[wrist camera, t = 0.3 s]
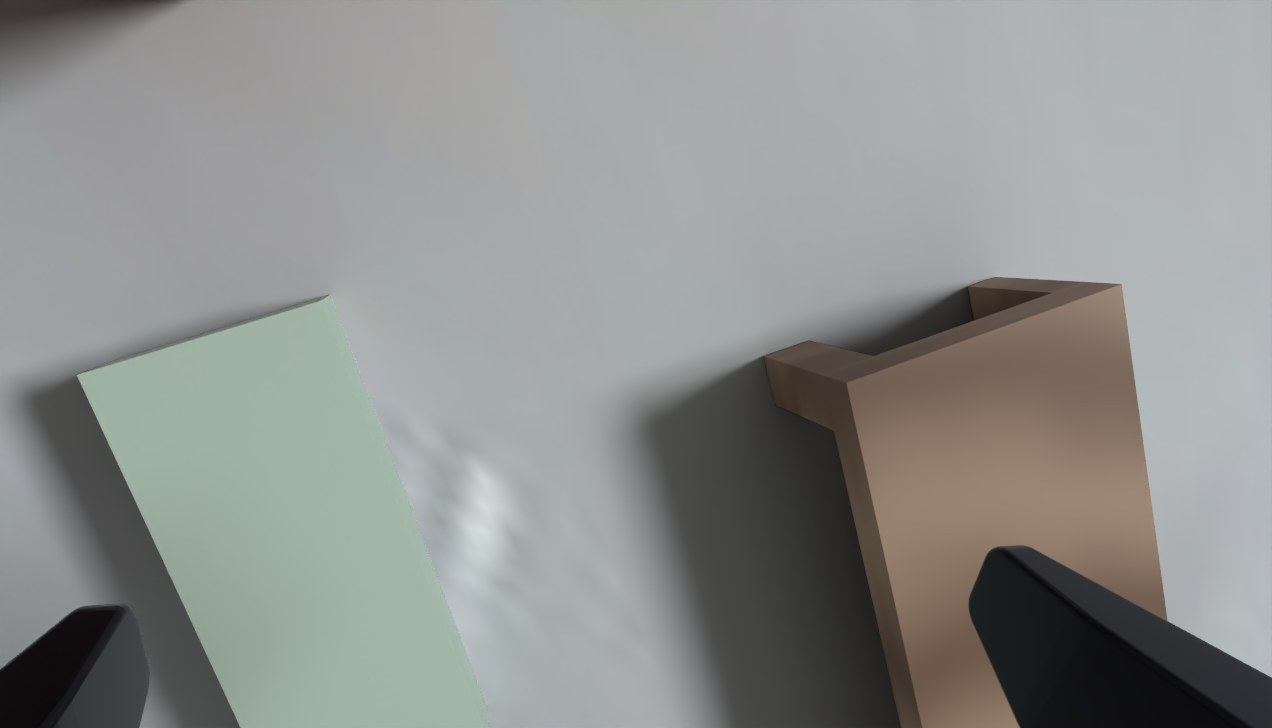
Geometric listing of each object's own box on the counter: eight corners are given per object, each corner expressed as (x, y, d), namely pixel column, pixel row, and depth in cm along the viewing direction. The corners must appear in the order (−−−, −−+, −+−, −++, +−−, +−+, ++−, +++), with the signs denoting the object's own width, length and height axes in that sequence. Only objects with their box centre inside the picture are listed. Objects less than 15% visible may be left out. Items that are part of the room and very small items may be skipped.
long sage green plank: (484, 697, 23) (493, 753, 20) (307, 772, 22) (293, 841, 19) (332, 293, 20) (320, 300, 17) (120, 357, 19) (76, 374, 16)
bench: (1078, 762, 28) (1199, 857, 24) (885, 860, 27) (978, 981, 22) (994, 277, 25) (1121, 284, 20) (763, 356, 23) (846, 382, 18)
